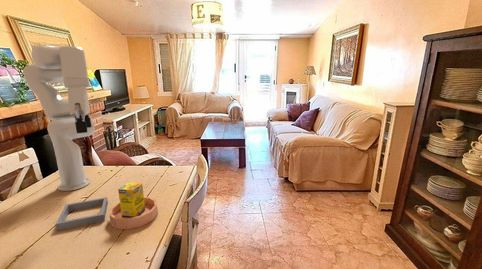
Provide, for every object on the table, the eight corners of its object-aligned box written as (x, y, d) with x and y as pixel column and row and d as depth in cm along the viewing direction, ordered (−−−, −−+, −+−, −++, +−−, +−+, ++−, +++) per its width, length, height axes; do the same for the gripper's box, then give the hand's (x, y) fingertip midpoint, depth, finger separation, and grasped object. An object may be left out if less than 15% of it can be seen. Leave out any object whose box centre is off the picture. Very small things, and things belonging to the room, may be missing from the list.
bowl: (112, 210, 94) (111, 201, 94) (155, 201, 100) (154, 193, 100) (109, 233, 80) (107, 223, 80) (159, 221, 86) (158, 213, 86)
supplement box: (136, 218, 87) (133, 190, 84) (121, 217, 88) (117, 189, 86) (145, 209, 93) (142, 182, 90) (131, 208, 94) (127, 181, 91)
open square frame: (66, 210, 95) (65, 204, 94) (108, 202, 100) (107, 197, 99) (56, 230, 82) (55, 224, 82) (104, 220, 88) (103, 214, 87)
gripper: (69, 82, 95) (77, 126, 99) (57, 84, 79) (67, 136, 83) (92, 82, 97) (98, 125, 101) (84, 83, 82) (92, 133, 86)
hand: (84, 130), depth 92 cm, fingers open, 9 cm apart
